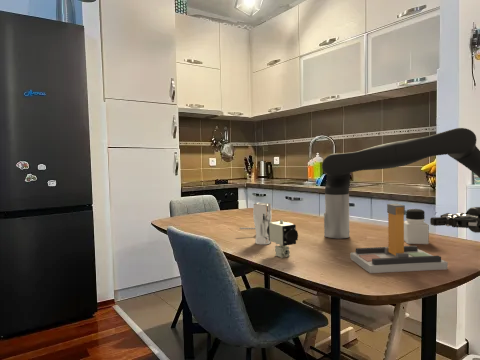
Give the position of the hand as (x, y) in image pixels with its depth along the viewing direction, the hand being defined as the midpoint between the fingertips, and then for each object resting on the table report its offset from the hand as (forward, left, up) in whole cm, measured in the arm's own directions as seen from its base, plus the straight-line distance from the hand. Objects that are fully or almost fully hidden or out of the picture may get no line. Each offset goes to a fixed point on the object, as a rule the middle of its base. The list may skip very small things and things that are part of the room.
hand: (431, 221), depth 103 cm
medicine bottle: (-4, +26, -12) cm, 29 cm away
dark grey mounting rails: (-9, -6, -10) cm, 15 cm away
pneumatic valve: (-43, -9, -12) cm, 46 cm away
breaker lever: (-9, -5, -9) cm, 14 cm away
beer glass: (-56, +6, -12) cm, 58 cm away
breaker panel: (-9, -5, -12) cm, 16 cm away
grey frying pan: (-63, +18, -12) cm, 66 cm away
